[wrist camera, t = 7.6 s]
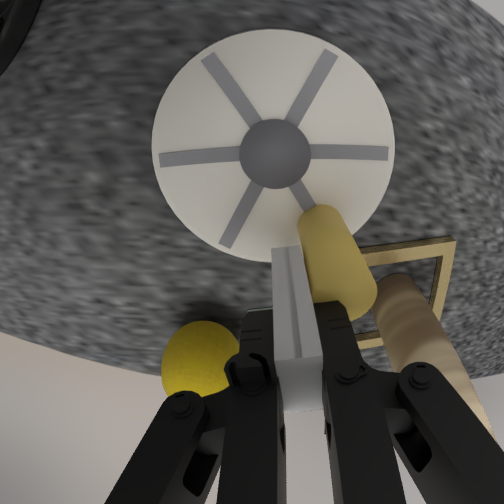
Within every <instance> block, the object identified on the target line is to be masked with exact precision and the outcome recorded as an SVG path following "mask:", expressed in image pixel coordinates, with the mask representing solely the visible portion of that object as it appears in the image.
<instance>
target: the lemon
mask: <svg viewBox="0 0 504 504" xmlns="http://www.w3.org/2000/svg"><path fill="white" fill-rule="evenodd" d="M237 353H239V343H238V341H237V340H236V338H235V337H234V335H233V334H232V333H231V332H230V331H229V330H228V329H226V328H225V327H224V326H222V325H220V324H218V323H215V322H212V321H195V322H191V323H188V324H187V325H185V326H183V327H181V328H180V329H179V330H178V331H177V332H176V333H175V334H174V335H173V336H172V337H171V339H170V340H169V342H168V344H167V346H166V349H165V351H164V354H163V358H162V365H161V375H162V384H163V387H164V389H165V392H166V394H167V396H168V397H169V396H170V395H172V394H174V393H175V392H179V391H183V390H186V391H193V392H196V393H198V394H199V395H200V396H201V397H203V396H207V395H210V394H213V393H217V392H219V391H221V390H223V389H225V388H226V387H228V386H229V383H228V380H227V377H226V374H225V372H224V366H225V364H226V362H227V361H228V360H229V359H230V358H231V357H232V356H233V355H235V354H237Z"/></svg>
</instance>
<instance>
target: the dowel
mask: <svg viewBox="0 0 504 504" xmlns="http://www.w3.org/2000/svg"><path fill="white" fill-rule="evenodd" d="M376 285H377V297H376V300H375V302H374V304H373V306H372V307H371V308H370V309H371V312H372V315H373V317H374V320H375V322H376V325H377V327H378V330H379V333H380V335H381V338H382V341H383V343H384V346H385V349H386V351H387V354H388V357H389V360H390V363H391V365H392V368H393V371H394V372H397V373H400V372H401V370H402V369H403V368H404V367H405V366H407V365H408V364H410V363H414V362H427V363H429V364H432V365H434V366H435V367H436V368H437V369H439V371H440V372H441V373H442V374H443V375H444V377H445V378H446V379H447V380H448V381H449V383H450V384H451V385H452V386H453V387H454V389H455V390H456V391H457V392H458V394H459V395H460V396H461V397H462V398H463V400H464V401H465V402H466V403H467V405H468V406H469V407H470V408H471V410H472V411H473V412H474V413H475V415H476V416H477V417H478V419H479V420H480V421H481V422H482V424H483V425H484V426H485V428H486V429H487V430H488V432H489V433H490V434H491V436H492V437H493V438H494V440H495V441H496V438H495V436H494V433H493V430H492V428H491V426H490V423H489V421H488V419H487V416H486V414H485V411H484V409H483V407H482V404H481V402H480V400H479V398H478V396H477V393H476V392H475V389H474V387H473V385H472V383H471V381H470V379H469V377H468V375H467V373H466V371H465V369H464V367H463V365H462V363H461V361H460V359H459V357H458V355H457V353H456V351H455V349H454V348H453V346H452V344H451V342H450V340H449V338H448V337H447V335H446V333H445V331H444V329H443V328H442V326H441V324H440V322H439V321H438V319H437V317H436V316H435V314H434V312H433V311H432V309H431V307H430V306H429V304H428V302H427V301H426V299H425V297H424V296H423V294H422V293H421V291H420V289H419V288H418V286H417V285H416V283H415V282H414V280H413V279H412V278H411V277H410V276H408V275H406V274H392V275H389V276H387V277H385V278H383V279H382V280H380V281H379V282H378V283H377V284H376ZM496 442H497V441H496Z"/></svg>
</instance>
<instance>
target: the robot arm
mask: <svg viewBox="0 0 504 504" xmlns="http://www.w3.org/2000/svg"><path fill="white" fill-rule="evenodd" d="M39 3H40V0H0V74H1V73H2V72H3V71H4V69H5V68H6V67H7V65H8V64H9V62H10V61H11V60H12V58H13V56H14V55H15V53H16V52H17V50H18V48H19V46H20V45H21V43H22V41H23V39H24V37H25V35H26V33H27V31H28V29H29V27H30V25H31V23H32V21H33V18H34V16H35V14H36V11H37V9H38V6H39ZM271 260H272V291H273V309H268V310H259V311H249V312H248V313H247V314H246V316H245V317H244V319H243V320H242V325H241V335H240V345H239V353H237V354H235V355H233V356H232V357H231V358H230V359H229V360H228V361H227V362H226V364H225V366H224V372H225V374H226V377H227V380H228V383H229V386H228V387H226V388H225V389H223V390H221V391H219V392H217V393H213V394H210V395H207V396H203V397H201V396H200V395H199V394H198V393H196V392H193V391H186V390H183V391H179V392H175V393H174V394H172V395H170V396H169V397H168V398H167V399H166V400H165V401H164V402H163V404H162V405H161V407H160V409H159V411H158V412H157V414H156V416H155V417H154V419H153V421H152V422H151V424H150V426H149V428H148V430H147V431H146V433H145V435H144V436H143V438H142V440H141V441H140V443H139V445H138V447H137V448H136V450H135V452H134V453H133V455H132V457H131V459H130V461H129V462H128V464H127V466H126V467H125V469H124V471H123V473H122V474H121V476H120V478H119V480H118V481H117V483H116V484H115V486H114V488H113V490H112V491H111V493H110V495H109V497H108V498H107V500H106V502H105V503H104V504H204V503H205V501H206V498H207V496H208V494H209V492H210V489H211V487H212V484H213V482H214V480H215V477H216V475H217V473H218V470H219V468H220V465H221V468H220V477H219V485H218V486H219V487H218V494H217V503H216V504H286V435H285V424H284V414H286V413H295V412H305V411H313V410H321V409H324V416H325V433H324V434H326V437H327V444H328V452H329V460H330V469H331V478H332V486H333V497H334V504H406V500H405V495H404V490H403V486H402V481H401V477H400V472H399V469H398V464H397V460H396V456H395V452H394V448H395V450H396V451H397V453H398V455H399V457H400V458H401V460H402V461H403V463H404V465H405V467H406V468H407V470H408V472H409V474H410V476H411V477H412V479H413V481H414V483H415V484H416V486H417V488H418V489H419V491H420V493H421V495H422V496H423V498H424V500H425V502H426V504H504V452H503V451H502V449H501V448H500V446H499V445H498V444H497V442H496V441H495V440H494V438H493V437H492V436H491V434H490V433H489V432H488V430H487V429H486V428H485V426H484V425H483V424H482V422H481V421H480V420H479V419H478V417H477V416H476V415H475V413H474V412H473V411H472V410H471V408H470V407H469V406H468V405H467V403H466V402H465V401H464V400H463V398H462V397H461V396H460V395H459V394H458V392H457V391H456V390H455V389H454V387H453V386H452V385H451V384H450V383H449V381H448V380H447V379H446V378H445V377H444V375H443V374H442V373H441V372H440V371H439V369H437V368H436V367H435V366H434V365H432V364H429V363H427V362H414V363H410V364H408V365H407V366H405V367H404V368H403V369H402V370H401V372H400V373H397V372H384V371H378V370H376V369H373V368H371V367H370V366H368V364H367V363H365V362H364V360H363V358H362V356H361V353H360V350H359V347H358V344H357V340H356V337H355V334H354V331H353V328H352V325H351V322H350V319H349V316H348V313H347V310H346V307H345V306H344V305H343V304H342V303H341V302H339V301H338V300H335V301H328V302H321V303H313V302H312V297H311V292H310V288H309V283H308V278H307V274H306V269H305V265H304V260H303V256H302V251H301V247H300V245H295V246H287V247H279V248H272V249H271ZM393 446H394V448H393Z"/></svg>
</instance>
